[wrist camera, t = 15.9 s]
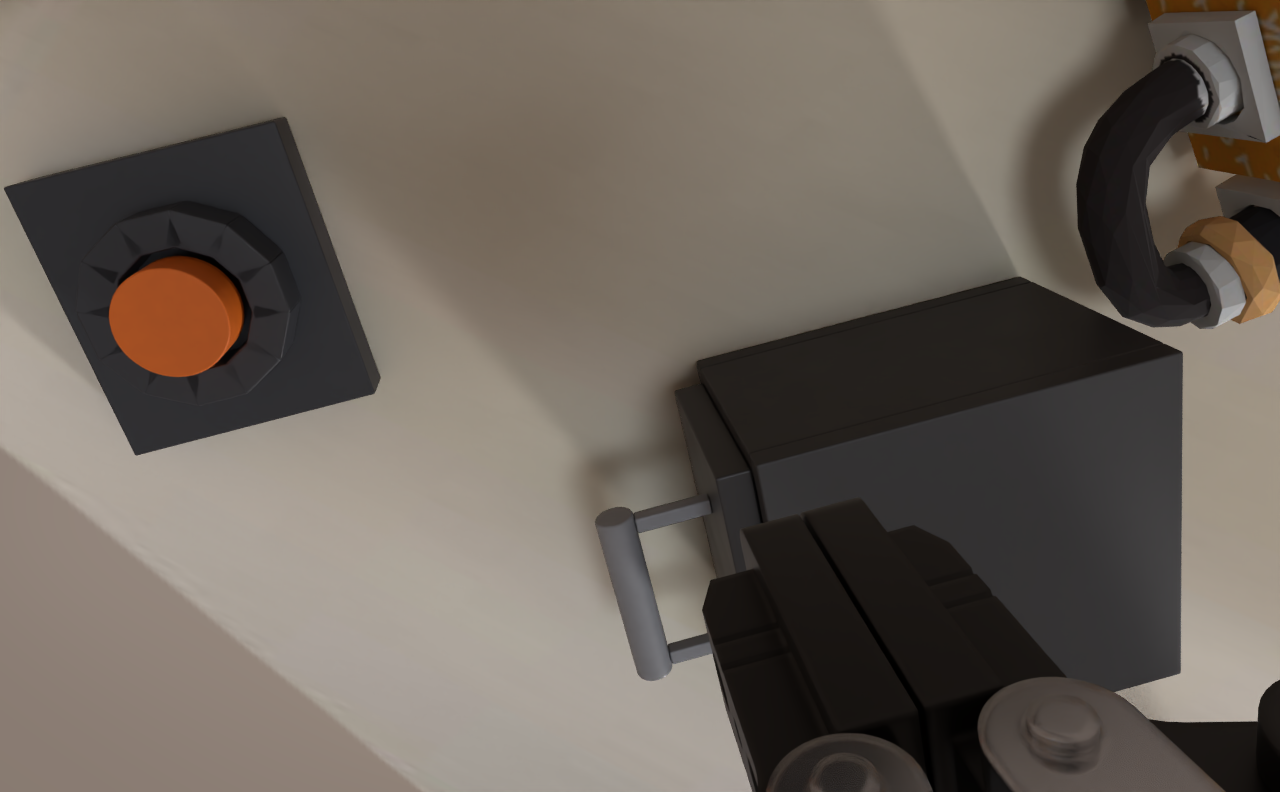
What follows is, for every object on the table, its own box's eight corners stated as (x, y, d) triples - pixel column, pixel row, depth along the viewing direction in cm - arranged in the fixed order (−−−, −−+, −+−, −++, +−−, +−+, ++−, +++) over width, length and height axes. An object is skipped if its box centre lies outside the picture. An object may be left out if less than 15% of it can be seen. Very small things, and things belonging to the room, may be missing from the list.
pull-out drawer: (636, 650, 41) (663, 784, 33) (570, 417, 36) (586, 513, 29) (997, 551, 41) (1102, 661, 34) (977, 310, 37) (1093, 377, 29)
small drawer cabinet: (750, 616, 42) (817, 776, 33) (695, 360, 37) (755, 465, 28) (1037, 538, 42) (1181, 674, 33) (1021, 275, 37) (1183, 351, 28)
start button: (110, 271, 30) (87, 284, 28) (219, 243, 30) (202, 255, 28) (157, 371, 31) (137, 389, 30) (261, 344, 31) (247, 361, 30)
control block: (27, 180, 31) (-28, 196, 28) (286, 116, 32) (260, 125, 28) (151, 437, 35) (115, 478, 32) (381, 378, 36) (368, 412, 32)
